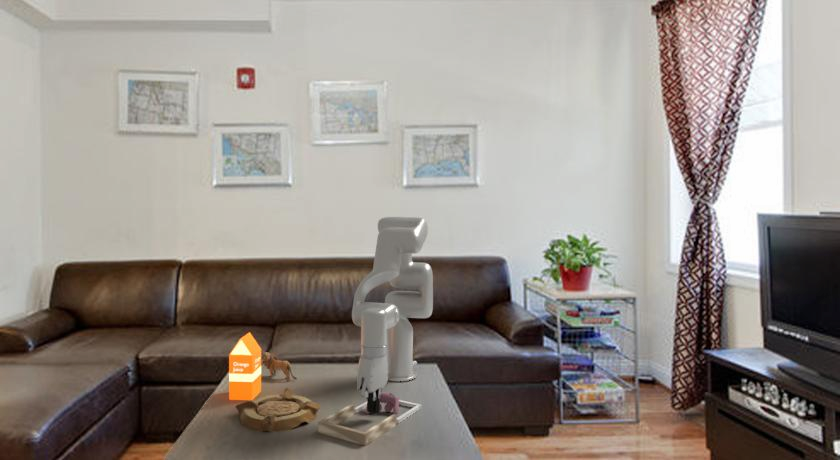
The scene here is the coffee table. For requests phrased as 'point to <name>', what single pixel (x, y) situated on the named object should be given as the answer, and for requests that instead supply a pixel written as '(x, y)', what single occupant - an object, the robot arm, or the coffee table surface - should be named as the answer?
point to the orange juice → (245, 369)
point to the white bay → (404, 403)
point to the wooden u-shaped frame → (352, 435)
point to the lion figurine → (276, 365)
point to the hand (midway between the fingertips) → (373, 411)
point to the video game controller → (388, 402)
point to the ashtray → (277, 412)
